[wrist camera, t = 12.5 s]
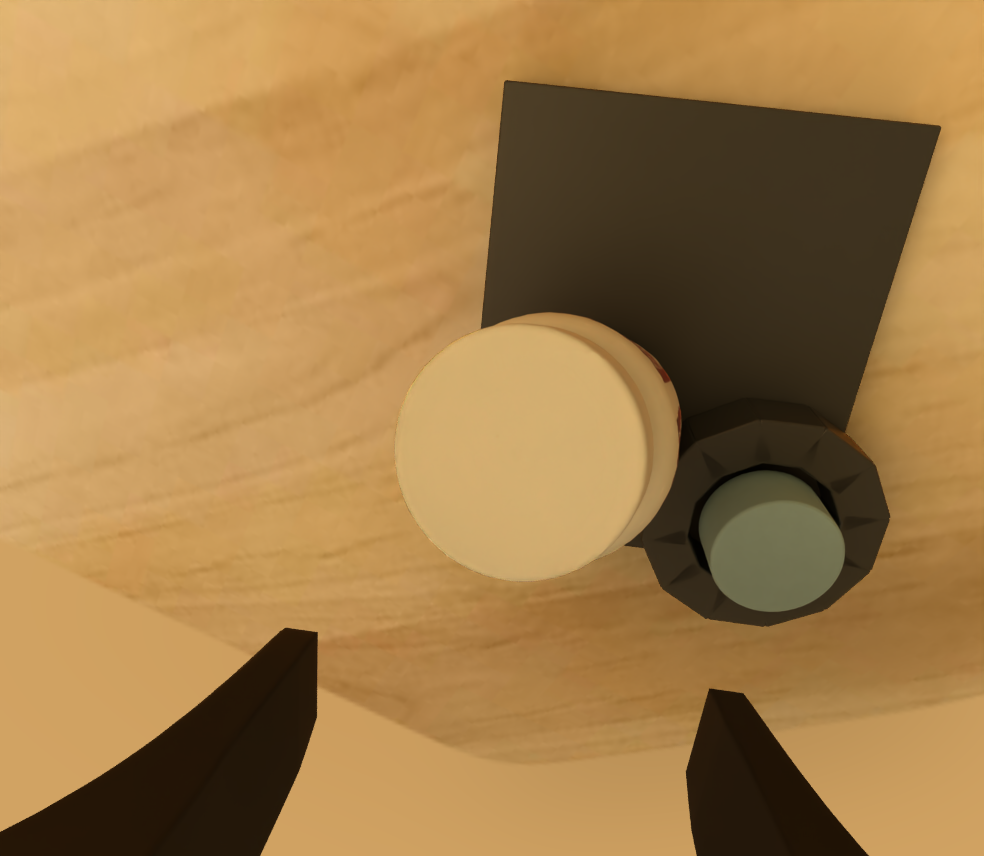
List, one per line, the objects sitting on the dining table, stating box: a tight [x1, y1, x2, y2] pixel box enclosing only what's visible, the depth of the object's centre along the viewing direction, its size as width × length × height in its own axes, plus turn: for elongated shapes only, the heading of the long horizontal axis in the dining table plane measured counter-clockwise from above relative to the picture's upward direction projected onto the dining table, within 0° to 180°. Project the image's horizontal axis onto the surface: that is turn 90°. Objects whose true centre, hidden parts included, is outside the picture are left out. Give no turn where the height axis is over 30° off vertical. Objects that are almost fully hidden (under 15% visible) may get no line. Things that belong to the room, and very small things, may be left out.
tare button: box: [699, 470, 845, 612], centre depth 19 cm, size 3×3×2 cm
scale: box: [481, 80, 941, 627], centre depth 19 cm, size 13×11×3 cm
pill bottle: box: [394, 312, 681, 582], centre depth 15 cm, size 5×5×8 cm
